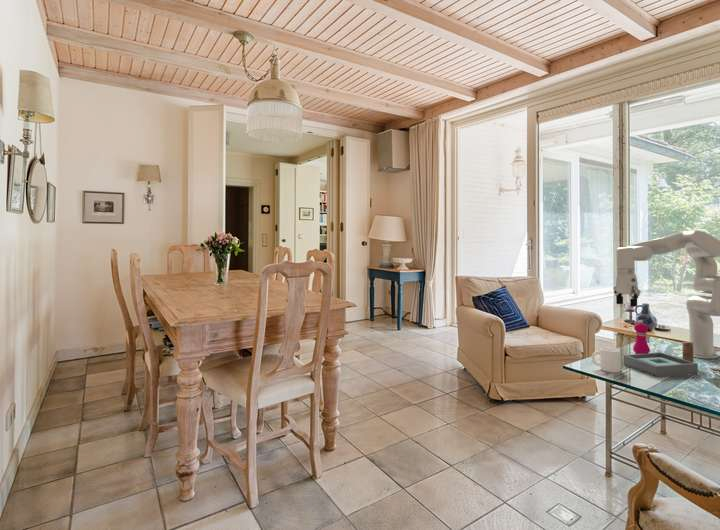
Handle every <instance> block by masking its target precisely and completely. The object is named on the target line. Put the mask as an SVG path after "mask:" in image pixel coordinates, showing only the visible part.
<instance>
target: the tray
mask: <svg viewBox="0 0 720 530" xmlns="http://www.w3.org/2000/svg"><path fill="white" fill-rule="evenodd" d="M623 366H625V367H628V368H631V369H633V370H636V371H638V370H639V372H641V373H643V372H644V374H646V373H647V374H646V375H648V374H649V376H651V375H652V376H651V377H653V378H656V377H657V378H667V376H670V377H678V376H677V375H683V376H689V375H688V374H696V375H699V374H698V373H699V372H698V363H696V362H694V361H693V362H691V361H688V360H684V359H683V358H680V357H677V356H674V355H671V354H668V353H664V352H662V351H661V352H649V353H645V354H635V353H634V354H633V353H632V354H623Z"/></svg>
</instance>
